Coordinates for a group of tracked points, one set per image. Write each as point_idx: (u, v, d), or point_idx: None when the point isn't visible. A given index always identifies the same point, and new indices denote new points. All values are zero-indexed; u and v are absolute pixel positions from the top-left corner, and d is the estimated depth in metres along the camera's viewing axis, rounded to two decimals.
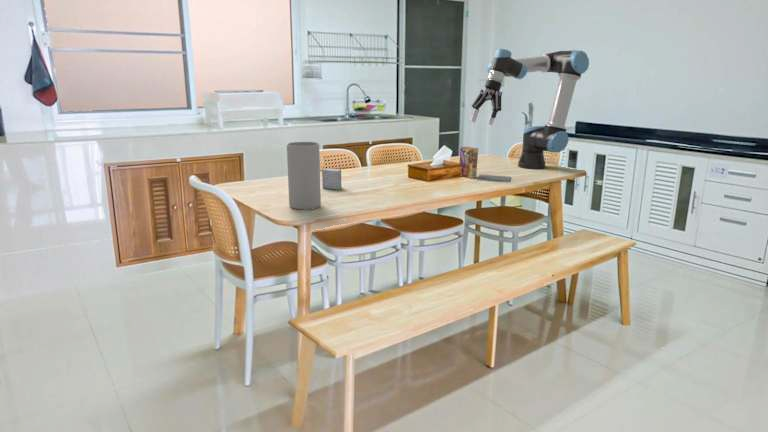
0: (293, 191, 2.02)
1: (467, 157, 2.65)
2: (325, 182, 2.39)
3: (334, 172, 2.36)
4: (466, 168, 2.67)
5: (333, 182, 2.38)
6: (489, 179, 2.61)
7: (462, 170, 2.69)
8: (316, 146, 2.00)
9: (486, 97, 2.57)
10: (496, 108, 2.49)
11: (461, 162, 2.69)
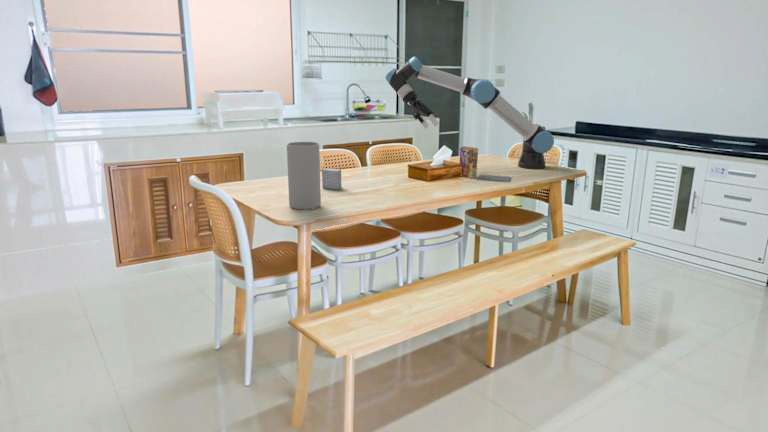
0: (293, 191, 2.02)
1: (467, 157, 2.65)
2: (325, 182, 2.39)
3: (334, 172, 2.36)
4: (466, 168, 2.67)
5: (333, 182, 2.38)
6: (489, 179, 2.61)
7: (462, 170, 2.69)
8: (316, 146, 2.00)
9: None
10: (414, 117, 2.64)
11: (461, 162, 2.69)
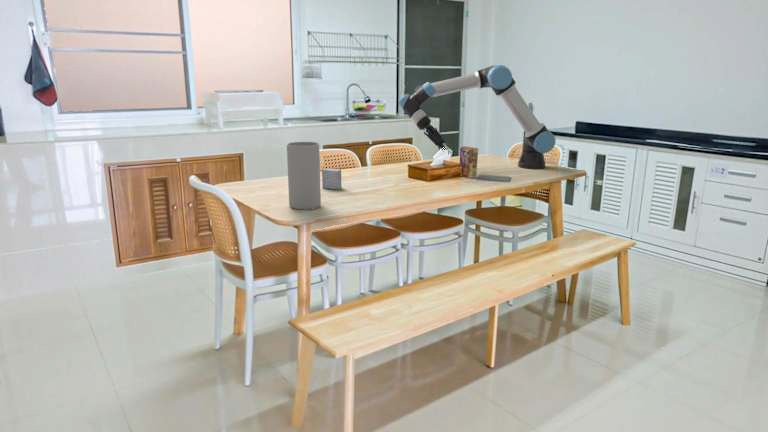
0: (293, 191, 2.02)
1: (467, 157, 2.65)
2: (325, 182, 2.39)
3: (334, 172, 2.36)
4: (466, 168, 2.67)
5: (333, 182, 2.38)
6: (489, 179, 2.61)
7: (462, 170, 2.69)
8: (316, 146, 2.00)
9: None
10: (436, 145, 2.70)
11: (461, 162, 2.69)
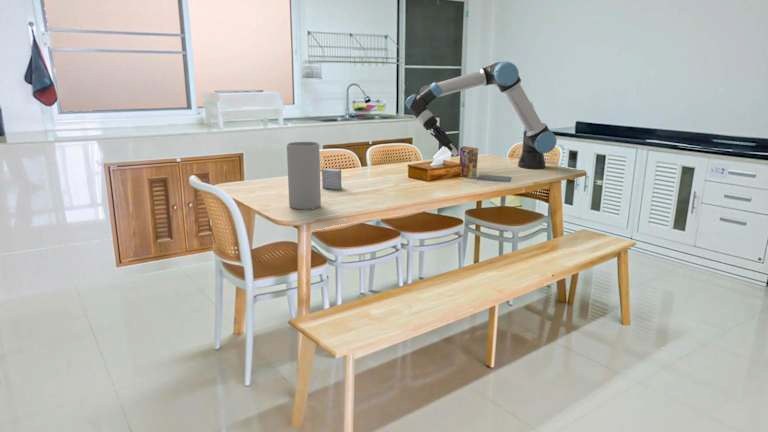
0: (293, 191, 2.02)
1: (467, 157, 2.65)
2: (325, 182, 2.39)
3: (334, 172, 2.36)
4: (466, 168, 2.67)
5: (333, 182, 2.38)
6: (489, 179, 2.61)
7: (462, 170, 2.69)
8: (316, 146, 2.00)
9: None
10: (443, 145, 2.68)
11: (461, 162, 2.69)
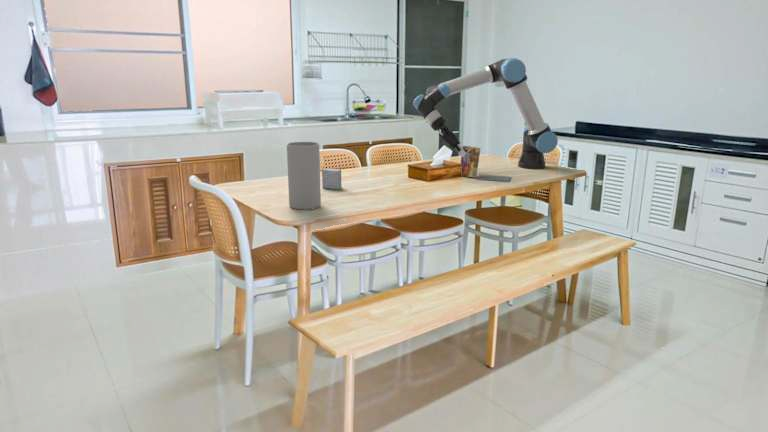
0: (293, 191, 2.02)
1: (468, 156, 2.66)
2: (325, 182, 2.39)
3: (334, 172, 2.36)
4: (467, 168, 2.67)
5: (333, 182, 2.38)
6: (489, 179, 2.61)
7: (463, 169, 2.69)
8: (316, 146, 2.00)
9: None
10: (451, 146, 2.66)
11: (462, 161, 2.69)
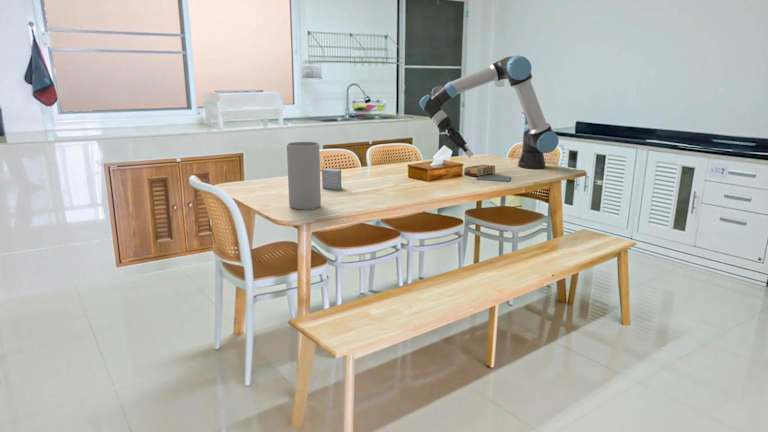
0: (293, 191, 2.02)
1: None
2: (325, 182, 2.39)
3: (334, 172, 2.36)
4: (477, 167, 2.72)
5: (333, 182, 2.38)
6: (489, 179, 2.61)
7: (471, 167, 2.73)
8: (316, 146, 2.00)
9: None
10: (457, 146, 2.64)
11: (474, 166, 2.77)
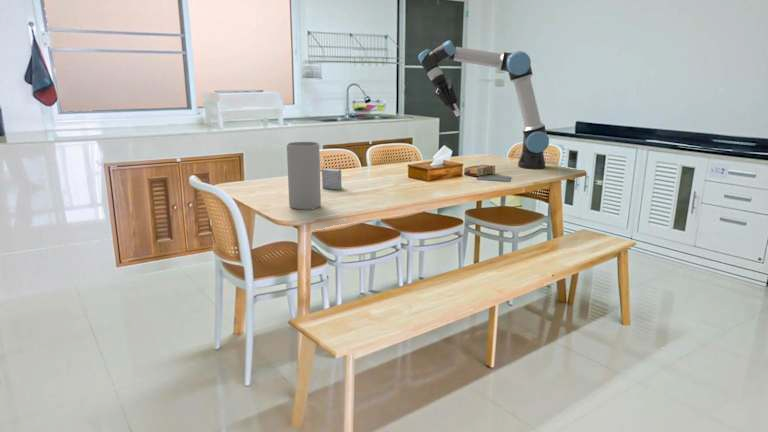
0: (293, 191, 2.02)
1: None
2: (325, 182, 2.39)
3: (334, 172, 2.36)
4: (477, 167, 2.72)
5: (333, 182, 2.38)
6: (489, 179, 2.61)
7: (471, 167, 2.73)
8: (316, 146, 2.00)
9: None
10: None
11: (474, 166, 2.77)
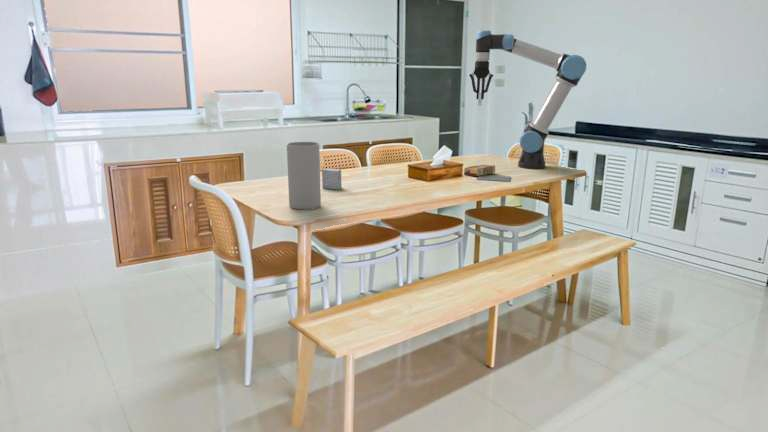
0: (293, 191, 2.02)
1: None
2: (325, 182, 2.39)
3: (334, 172, 2.36)
4: (477, 167, 2.72)
5: (333, 182, 2.38)
6: (489, 179, 2.61)
7: (471, 167, 2.73)
8: (316, 146, 2.00)
9: None
10: None
11: (474, 166, 2.77)
